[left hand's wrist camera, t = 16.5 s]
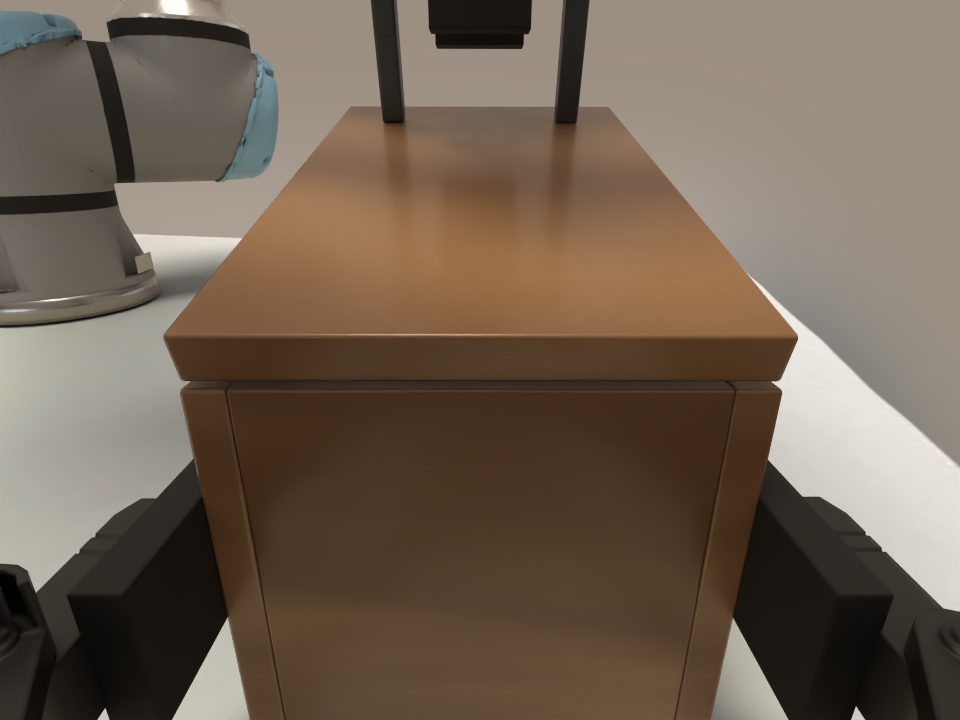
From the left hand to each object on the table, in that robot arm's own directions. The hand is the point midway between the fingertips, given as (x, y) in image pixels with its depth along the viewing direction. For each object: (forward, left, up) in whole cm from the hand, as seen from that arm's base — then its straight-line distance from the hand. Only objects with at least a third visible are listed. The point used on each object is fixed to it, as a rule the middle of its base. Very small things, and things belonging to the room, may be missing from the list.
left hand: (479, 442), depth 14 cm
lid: (+3, +1, +5) cm, 6 cm away
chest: (+3, +1, -6) cm, 7 cm away
